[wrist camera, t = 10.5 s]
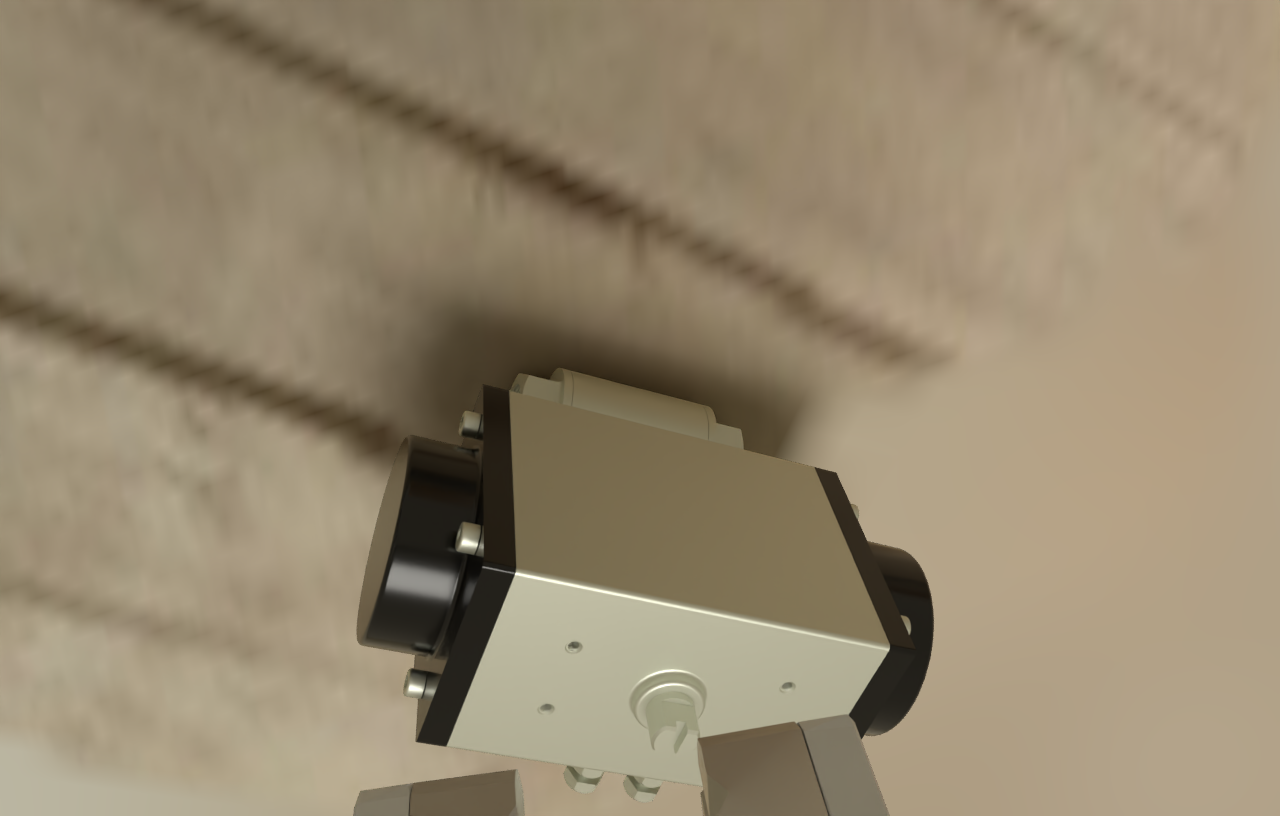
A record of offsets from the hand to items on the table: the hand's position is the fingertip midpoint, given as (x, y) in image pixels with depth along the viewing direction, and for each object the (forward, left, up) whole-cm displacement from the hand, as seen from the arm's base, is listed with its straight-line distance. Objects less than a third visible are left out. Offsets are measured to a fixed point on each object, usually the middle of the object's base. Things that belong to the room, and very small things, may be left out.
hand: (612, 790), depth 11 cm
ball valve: (+10, -14, -33) cm, 37 cm away
